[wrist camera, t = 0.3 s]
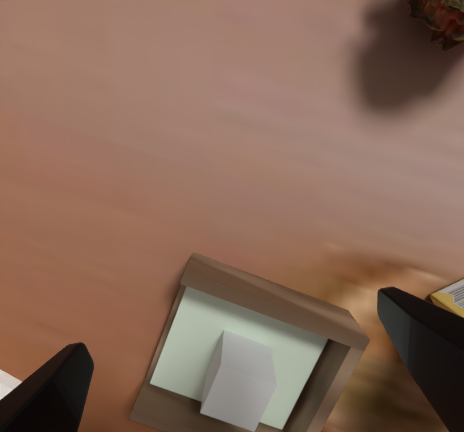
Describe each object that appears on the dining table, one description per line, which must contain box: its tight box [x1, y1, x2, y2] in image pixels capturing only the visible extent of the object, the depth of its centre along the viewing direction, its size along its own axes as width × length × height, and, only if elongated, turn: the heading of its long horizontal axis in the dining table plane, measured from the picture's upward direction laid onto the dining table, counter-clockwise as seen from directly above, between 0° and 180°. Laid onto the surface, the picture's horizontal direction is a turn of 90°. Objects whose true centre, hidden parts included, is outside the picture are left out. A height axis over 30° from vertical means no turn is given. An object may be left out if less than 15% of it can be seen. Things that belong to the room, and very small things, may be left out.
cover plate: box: [150, 287, 328, 432], centre depth 21 cm, size 10×12×5 cm
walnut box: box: [129, 253, 370, 432], centre depth 23 cm, size 13×14×4 cm
